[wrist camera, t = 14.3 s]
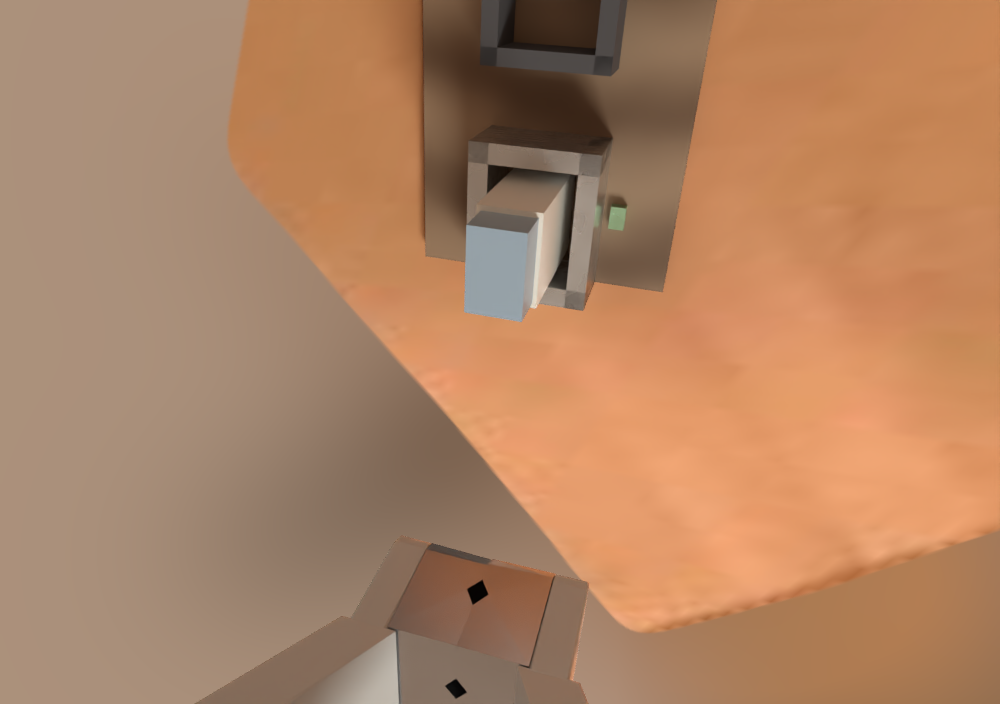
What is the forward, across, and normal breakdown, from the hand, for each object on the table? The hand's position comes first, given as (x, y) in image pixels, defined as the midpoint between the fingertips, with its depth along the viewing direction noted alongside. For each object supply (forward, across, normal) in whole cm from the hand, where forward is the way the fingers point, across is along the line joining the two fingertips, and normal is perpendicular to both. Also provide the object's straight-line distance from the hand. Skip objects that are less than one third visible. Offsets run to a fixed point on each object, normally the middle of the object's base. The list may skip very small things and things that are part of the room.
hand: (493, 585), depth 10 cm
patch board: (+29, +5, -3) cm, 30 cm away
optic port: (+28, +5, +3) cm, 29 cm away
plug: (+28, +5, +3) cm, 29 cm away
